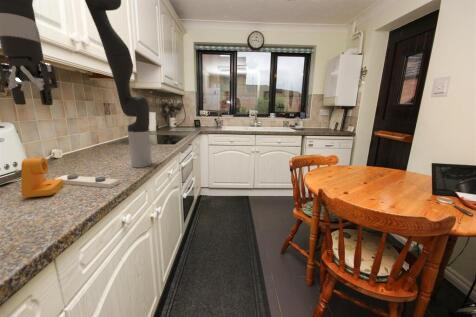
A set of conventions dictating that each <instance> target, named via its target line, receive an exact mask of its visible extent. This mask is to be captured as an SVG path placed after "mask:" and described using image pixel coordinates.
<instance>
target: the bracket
mask: <svg viewBox="0 0 476 317" xmlns="http://www.w3.org/2000/svg"><path fill="white" fill-rule="evenodd" d="M20 167H21V170H20V171H21V179H20V180H21V181H20V182H21V195H22V196H21V197H22V198H24V199H25V198H34V197H44V196H51V195H56V194H57V193H59V191H61V190H62V189H63V187H62V186H63V185H64V184H63V180H62V179H56V180H53V179H46V177H45V174H47V173H48V172H49V163H48V160H47V158H45V157H35V158H24V159H22V161H21V166H20Z"/></svg>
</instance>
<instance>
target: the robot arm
mask: <svg viewBox="0 0 476 317" xmlns="http://www.w3.org/2000/svg"><path fill="white" fill-rule="evenodd" d="M84 2H85V4H86V7H87V9H88V12H89V14H90V16H91V19H92V21H93V23H94V25H95V27H96V30H97V32H98V36H99V38H100V42H101V44H102V47H103V50H104V54H105V58H106V60H107V63H108V66H109V68H110V71H111V74H112V77H113V81H114V83H115V87H116V91H117V92H116V93H117V95H118V96H117V97H118V100H119V105H120V108H121V110H122V112H123V114H124V115H125V116H126V117H133V118H135V121H134V122H132V123H130V124H128V125H127V135H128V145H129V146H128V147H129V155H130V156H129V157H130V166H131V167H132V168H146V167H150V166H151V165H152V163H153V162H152V159H153V158H152V147H151V144H150V143H151V142H150V141H151V140H150V132H149V130H150V129H149V128H150V107H149V106H150V105H149V102H148V100H147V98H145V97H143V96H132V93H131V88H130V82H131V78H132V75H133V72H134V63H133V59H132V55H131V52H130V50H129V47H128V46H127V44H126V43H125V41H124V40H123V39H122V38H121V36H120V35H119V34H118V33H117V31H116V30H115V29H114V28H113V25H112V24H111V22H110V20H109V17H108V13H107V12H109V11H116V10H118V9H120V7H121V5H122V0H84ZM33 3H34V0H0V47H1V52H2V55H3V56H4V57H5V58H7V59H8V61H9V63H4V62H3V63H1V62H0V80H1V85H2V87H3V88H7V89H9V90H10V91H11V94H12V98H13V102H14V104H15V105H16V106H17V105H19V106H20V105H22V106H23V105H26V104H27V102H26V98H25V97H26V96H25V93H24V87H25V85H26V84H28V82H31V83H33V84H34V85H36V86H37V88H38V89H39V95H40V100H41V105H42V106H53V101H54V100H53V94H52V91H53V90H55V89H57V88H58V82H57V77H56V72H55V69H54V65H53V64H51V63H47V62H44V53H43V48H42V42H41V36H40V32H39V28H38V25H37V21H36V20H37V19H36V16H35V11H34V6H33ZM8 80H9V82H8Z"/></svg>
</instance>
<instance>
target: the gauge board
mask: <svg viewBox="0 0 476 317" xmlns="http://www.w3.org/2000/svg"><path fill="white" fill-rule="evenodd" d="M56 179H62V180H63V185H74V186H84V187H85V186H86V187H98V188H108V189H111V188H114V187H115V186H118V185H119V184H120V183H121V182H120V179H115V178H106V177H105V176H97V177H96V176H95V177H93V176H81V175H80V176H79V175H78V174H65V175H61V176H58V177H55V178H52V180H56Z"/></svg>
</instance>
